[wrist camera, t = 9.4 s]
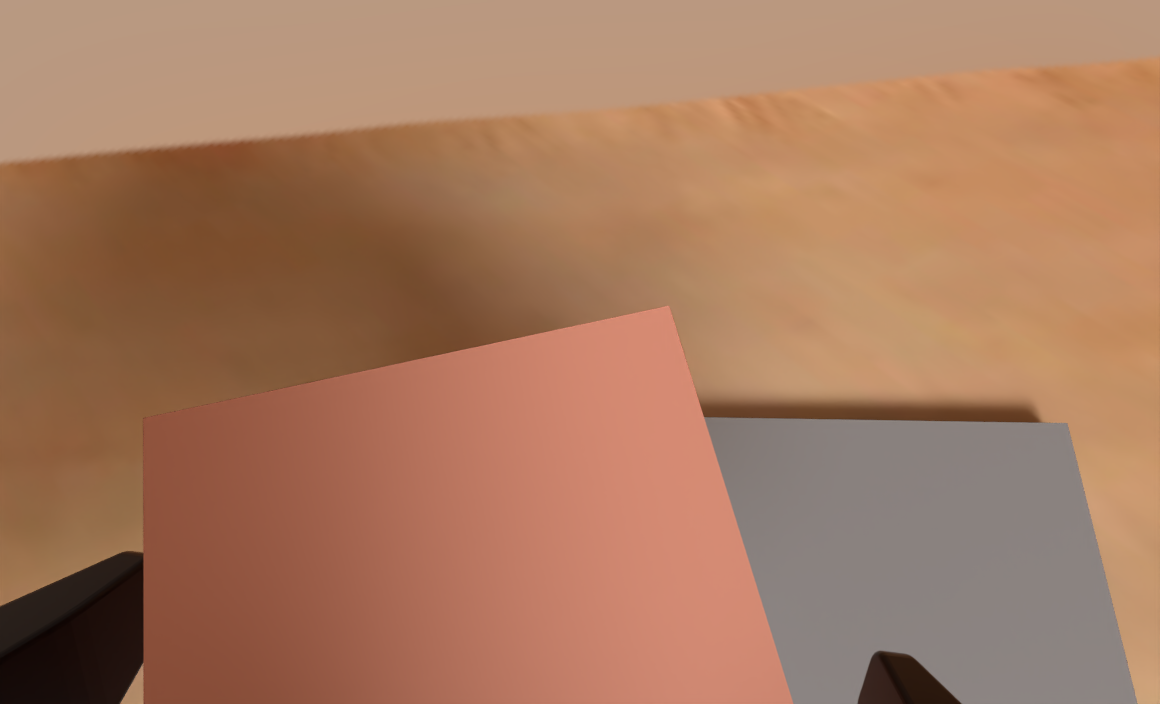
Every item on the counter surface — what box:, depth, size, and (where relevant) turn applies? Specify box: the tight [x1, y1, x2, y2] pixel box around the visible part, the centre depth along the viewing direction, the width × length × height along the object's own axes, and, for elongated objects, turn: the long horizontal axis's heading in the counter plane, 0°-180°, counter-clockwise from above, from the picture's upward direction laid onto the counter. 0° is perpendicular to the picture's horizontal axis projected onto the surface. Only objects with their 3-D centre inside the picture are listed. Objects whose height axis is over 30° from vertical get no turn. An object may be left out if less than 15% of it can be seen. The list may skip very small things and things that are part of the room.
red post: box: [143, 306, 793, 704], centre depth 11 cm, size 4×4×12 cm
